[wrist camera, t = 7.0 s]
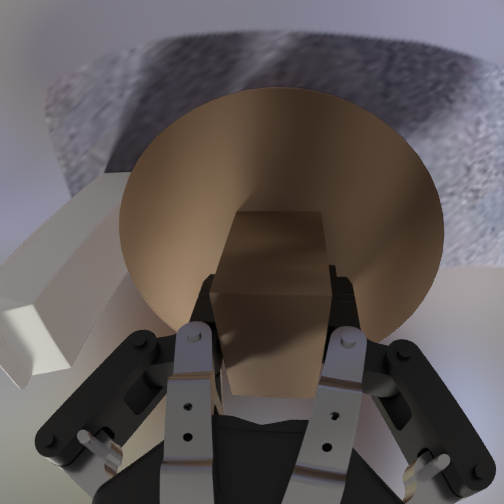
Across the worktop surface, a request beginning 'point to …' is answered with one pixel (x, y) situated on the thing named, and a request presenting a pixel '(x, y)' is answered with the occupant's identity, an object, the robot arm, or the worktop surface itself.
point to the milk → (61, 281)
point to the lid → (280, 228)
